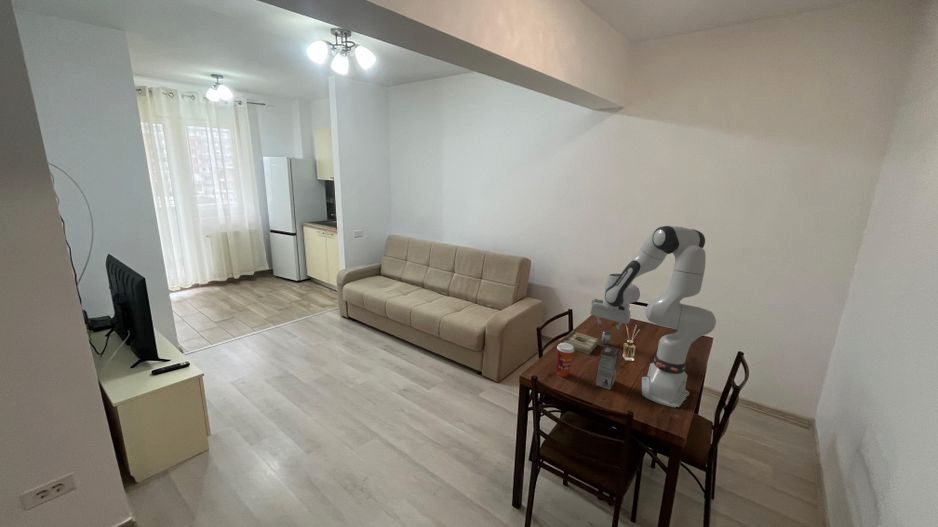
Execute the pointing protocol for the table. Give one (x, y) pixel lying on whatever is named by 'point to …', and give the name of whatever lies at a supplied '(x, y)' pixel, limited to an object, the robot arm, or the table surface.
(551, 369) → the table surface
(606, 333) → the bushing
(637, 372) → the table surface
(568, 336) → the block
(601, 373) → the coffee box
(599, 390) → the table surface
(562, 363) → the paper cup
